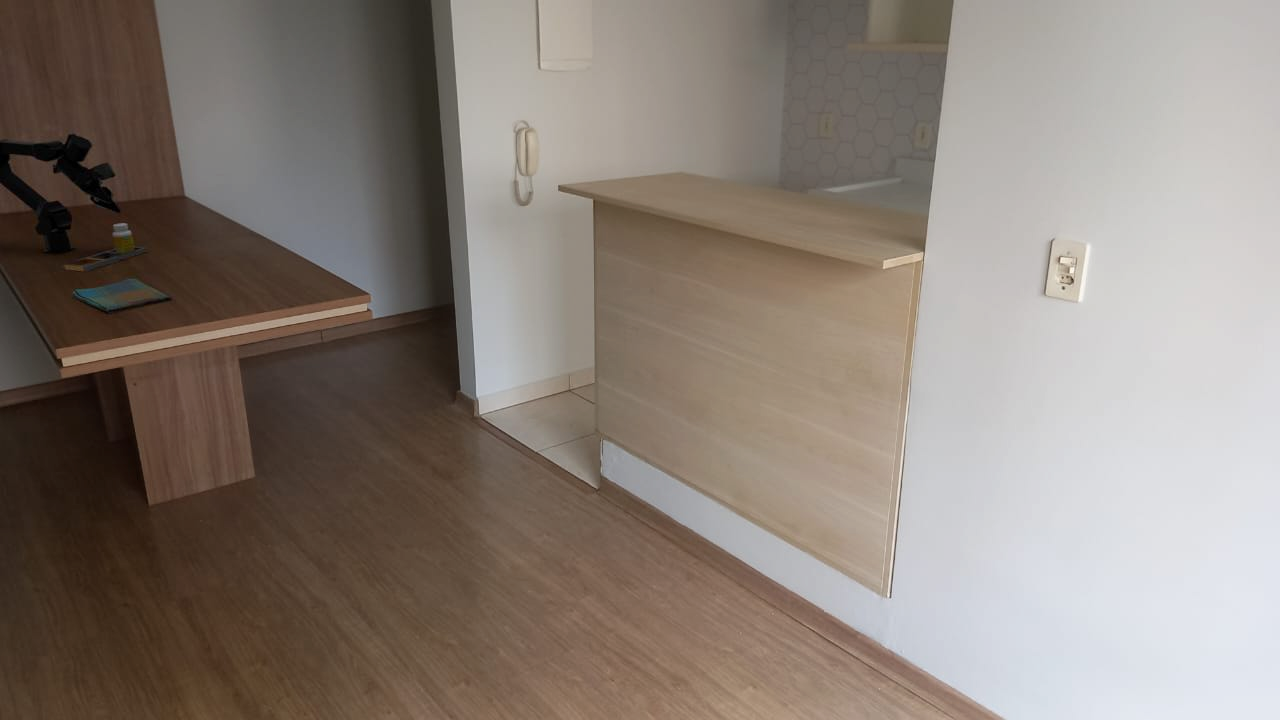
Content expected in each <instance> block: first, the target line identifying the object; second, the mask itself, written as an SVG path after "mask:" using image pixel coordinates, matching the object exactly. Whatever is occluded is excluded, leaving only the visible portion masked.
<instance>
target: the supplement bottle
mask: <svg viewBox="0 0 1280 720" xmlns="http://www.w3.org/2000/svg"><path fill="white" fill-rule="evenodd" d="M112 227H113V230H114V231H113V232H112V238H113V244H114V249H116V252H117V253H128V252H132V251H135V247H136V246H135V243H134V237H133V234H132V231H131V230H129V226H128V224H127V223H125V222H124V223H123V222H121V223H115V224H113V225H112Z"/></svg>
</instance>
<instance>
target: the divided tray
mask: <svg viewBox="0 0 1280 720" xmlns="http://www.w3.org/2000/svg"><path fill="white" fill-rule="evenodd" d="M134 247H135V251H132V252H128V253H117V252H116V249H115V248H114V249H109V250H105V251H103V252H100V253H96V254H93V255H90V256H89V255H88V256H85V257H82V258H80V259H76V260H72V261H69V262H66V263H64V264H62V265H61V266H62V269H63V270H67V271H74V270H75V271H77V272H85V273H86V272H89V271H90V272H91V271H93V270H96V269H99V268H98V267H100V268H102V267H101V266H103V267H105V266H104V265H106V264H108V263H112V262H115V261H118V260H121V259H124V258H127V257H130V256H134V255H137V254H140V253H144V252H147V253H148V252H149V251H148V248H147V247H143V246H134ZM144 254H145V253H144ZM106 256H112V257H108V258H107V257H106ZM137 256H138V255H137ZM103 257H105V258H103ZM134 257H135V256H134ZM101 258H102V259H101ZM118 262H119V261H118ZM115 263H116V262H115ZM112 264H113V263H112ZM106 266H107V265H106ZM95 268H96V269H95ZM92 269H93V270H92ZM75 271H74V272H75Z"/></svg>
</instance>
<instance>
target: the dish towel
mask: <svg viewBox="0 0 1280 720" xmlns="http://www.w3.org/2000/svg"><path fill="white" fill-rule="evenodd" d="M72 298H74V299H76V300H78V301H80V300H81V302H83V303H86V304H88V305H91V306H92V307H94V306H95V307H94V308H96V307H97V308H96V309H98V308H99V309H98V310H100V309H101V310H103V311H102V312H104V311H105V312H104V313H106V312H108V313H111V314H115V313H114V312H116V313H119V311H120V312H124V311H123V310H125V311H128V310H127V309H129V310H133V309H132V308H134V309H137V308H136V307H138V308H141V307H140V306H143V307H147V306H151V305H150V304H152V305H155V304H161V303H164V302H168V301H169V300H170V301H172V300H173V298H172V297H171V296H169V295H167V294H165V293H163V292H162V291H160V290H158V289H156V288H153V287H151V286H149V285H147V284H145V283H143V282H142V281H140V280H138V279H137V278H128V279H125V280H121V281H118V282H114V283H109V284H105V285H101V286H98V287H94V288H84V289H82V288H81V289H75V290H74V291H72ZM146 305H147V306H146ZM101 310H100V311H101ZM108 313H107V314H108Z"/></svg>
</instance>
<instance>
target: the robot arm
mask: <svg viewBox="0 0 1280 720" xmlns="http://www.w3.org/2000/svg"><path fill="white" fill-rule="evenodd" d="M92 147H93V144H92V142H91V141H90V140H89V139H88V138H87V139H86V138H85V137H82V136H79V135H77V134H76V133H70V134H68V135H67V138H66V141H65V143H63V142H62V141H60V140H51V141H43V142H29V141H18V140H9V139H6V138H5V139H4V138H3V139H0V184H1V185H2V186H3V187H4V188H6V189H7V190H8V191H9V192H10V193H12V195H14V196H15V197H16V198H18V199H19V200H20V201H22V203H24V204H25V205H26V206H28V207H29V208H30V209H31V210H33V211H34V213H35V215H36V219H37V221H38V223H37V225H36V226H35V228H34V230H35V232H36V233H37V235H41V236H43V239H44V243H45V247H46V249H44V250H42V253H48V254H61V253H65V252H69V251H72V250H75V246H71V243H70V239H69V236H68V233H67V231H70V230H71V229H72V223H73V216H72V213H71V212H70V211H69V208H68V207H66V206H64V205H63V204H62V203H61V201H59V200H54V201H49V200H47V199H46V198H45V197H43V196H42V195H41V194H40V193H38V191H36V190H35V189H33V188H32V186H30V185H28V184H27V183H26V182H25V181H24V180H23V179H21V178H20V177H19V176H18V175H17V174H16V173H14V172H13V171H12V167H11V164H10V163H9V161H11V158H12V157H11V155H16V156H27V157H32V158H35V159H36V160H37V161H42V162H44V163H49V162H55V161H56V163H55V164H52V173H53V174H54V175H56V174H63V176H65V177H66V178H68V180H69V181H70V182H71V183H72V184H74V185H75V186H76V187H77V189H79V190H80V191H81V192H83V193H84V194H85V195H86V196H90V197H89V200H90V201H91V202H92V203H93V204H94V205H96V207H97V208H100V209H101V208H102V209H105V210H108V211H109V212H110V211H111V212H114V213H116V214H120V213H121V212H122V210H121V209H120V207H119V206H118V205H117V203H116V202H115V201H114V200H113V198H114V193H113V192H112V191H111V190H110V189H109V188H108V187H107V186H102V184H103V181H105V180H109V179H111V178H115V177H116V173H115V171H114V170H113V167H112V166H111V165H110V164H109V162H102V163H99V164H98V165H95V166H93V167H92V168H88V167H87V166H84V165H82V164H81V163H82V162H85V160H86V158H87V157H88V154H90V151H91V149H92Z"/></svg>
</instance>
